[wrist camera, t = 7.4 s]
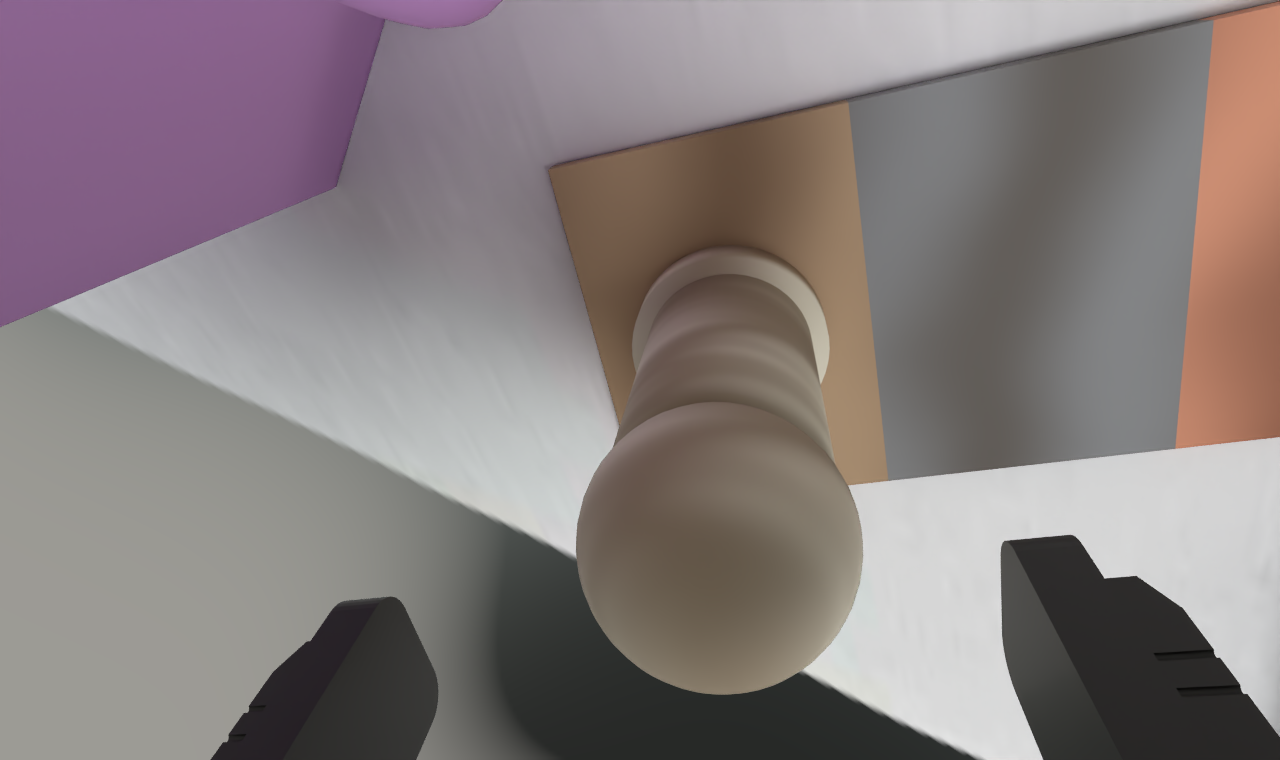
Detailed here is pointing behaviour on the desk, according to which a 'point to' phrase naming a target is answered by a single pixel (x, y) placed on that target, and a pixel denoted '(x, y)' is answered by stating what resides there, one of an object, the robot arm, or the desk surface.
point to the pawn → (723, 483)
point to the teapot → (171, 124)
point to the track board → (992, 248)
